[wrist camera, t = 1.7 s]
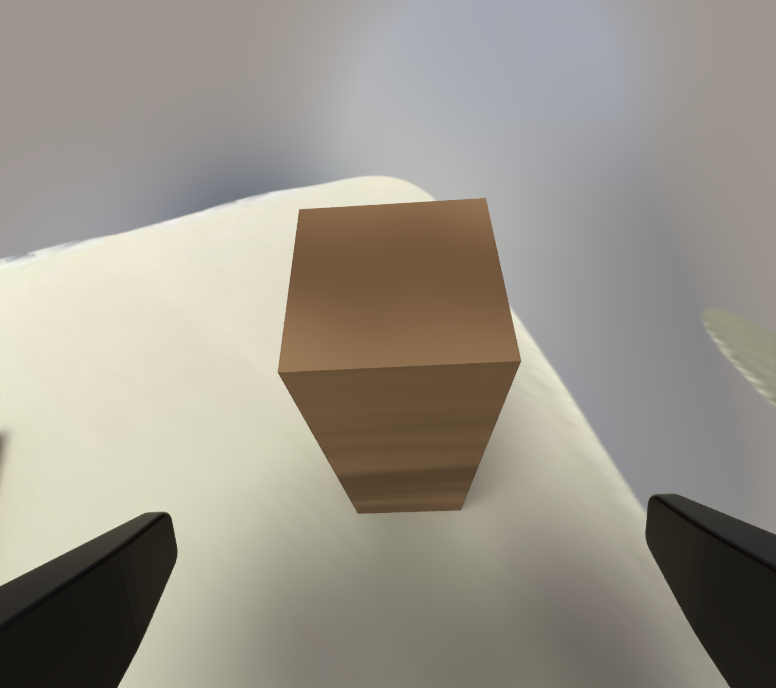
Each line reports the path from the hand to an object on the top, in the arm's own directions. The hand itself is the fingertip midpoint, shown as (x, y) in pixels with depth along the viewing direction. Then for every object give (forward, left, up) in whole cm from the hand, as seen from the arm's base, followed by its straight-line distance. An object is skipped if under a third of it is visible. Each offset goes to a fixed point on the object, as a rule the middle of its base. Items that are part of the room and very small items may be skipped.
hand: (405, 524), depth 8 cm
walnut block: (+4, -2, -11) cm, 12 cm away
